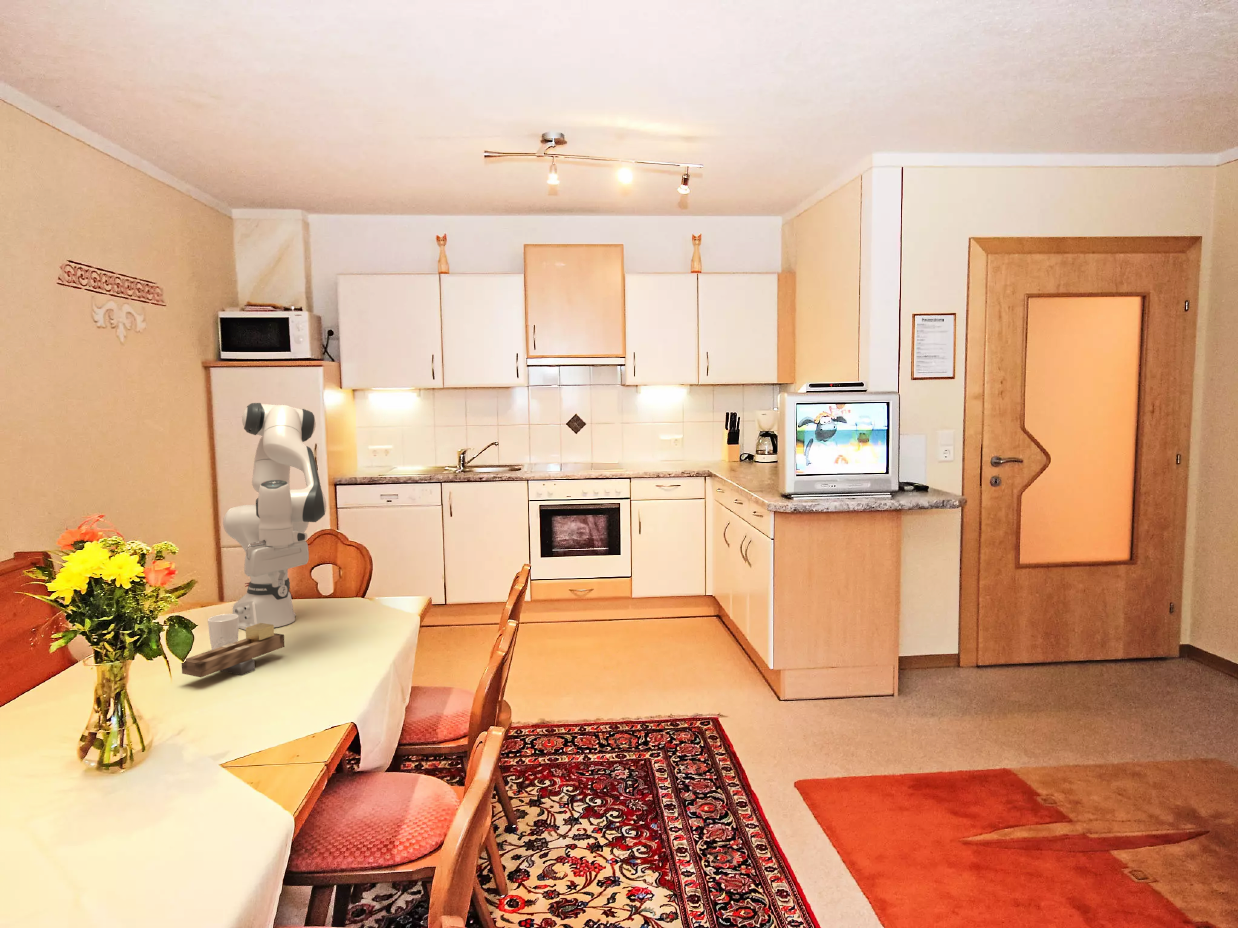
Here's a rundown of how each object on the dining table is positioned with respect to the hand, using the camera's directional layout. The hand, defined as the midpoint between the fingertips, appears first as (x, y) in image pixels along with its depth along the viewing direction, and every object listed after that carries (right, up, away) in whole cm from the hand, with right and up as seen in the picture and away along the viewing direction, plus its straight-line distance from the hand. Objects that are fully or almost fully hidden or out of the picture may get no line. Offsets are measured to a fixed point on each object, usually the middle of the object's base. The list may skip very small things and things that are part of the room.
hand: (278, 586), depth 217 cm
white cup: (-17, -20, +4) cm, 27 cm away
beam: (-6, -21, -12) cm, 25 cm away
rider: (-3, -16, -5) cm, 17 cm away
